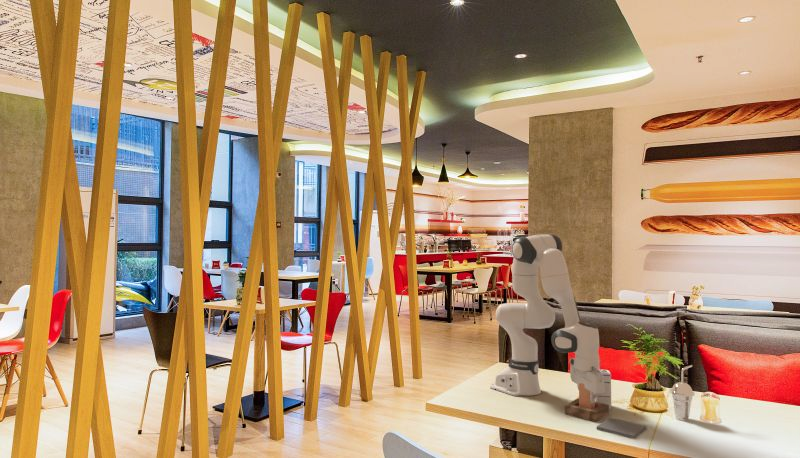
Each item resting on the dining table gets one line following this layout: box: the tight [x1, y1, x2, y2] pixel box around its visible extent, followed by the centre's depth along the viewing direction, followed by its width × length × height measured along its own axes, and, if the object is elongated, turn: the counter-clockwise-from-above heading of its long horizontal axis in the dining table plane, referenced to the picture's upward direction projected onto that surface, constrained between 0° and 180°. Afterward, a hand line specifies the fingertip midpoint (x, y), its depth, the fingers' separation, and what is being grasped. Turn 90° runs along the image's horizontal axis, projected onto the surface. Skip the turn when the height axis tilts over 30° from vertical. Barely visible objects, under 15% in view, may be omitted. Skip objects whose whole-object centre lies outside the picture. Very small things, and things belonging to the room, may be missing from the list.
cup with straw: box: [669, 364, 695, 422], centre depth 210 cm, size 8×9×20 cm
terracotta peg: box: [578, 383, 595, 409], centre depth 215 cm, size 4×4×12 cm
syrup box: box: [595, 368, 612, 410], centre depth 223 cm, size 6×6×14 cm
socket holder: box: [564, 397, 610, 423], centre depth 215 cm, size 12×12×4 cm
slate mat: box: [596, 417, 647, 440], centre depth 199 cm, size 13×13×1 cm
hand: (586, 399), depth 215 cm, fingers closed on terracotta peg, 6 cm apart
